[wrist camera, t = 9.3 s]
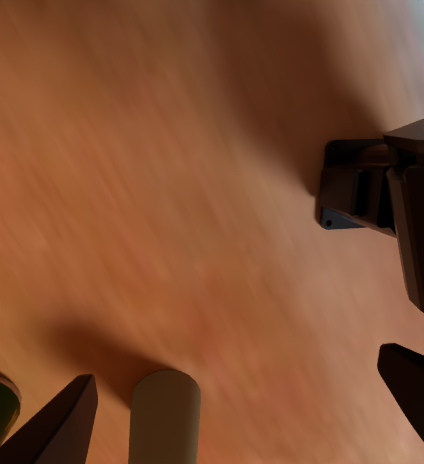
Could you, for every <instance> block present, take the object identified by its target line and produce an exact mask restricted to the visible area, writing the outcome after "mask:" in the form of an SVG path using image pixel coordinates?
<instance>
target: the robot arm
mask: <svg viewBox="0 0 424 464" xmlns="http://www.w3.org/2000/svg"><path fill="white" fill-rule="evenodd" d="M383 137H384V139H356V140H332V141H329V142H328V143H327V145H326V148H325V161H324V169H323V170H322V173H321V186H320V200H319V204H320V205H321V214H320V225H321V227H322V228H324V229H327V230H331V229H348V228H366V227H368V228H371V229H373V230H376V231H379V232H381V233H384V234H387V235H389V236H392V237H395V238H397V242H398V247H399V253H400V259H401V265H402V271H403V276H404V282H405V288H406V291H407V294H408V297H409V300H410V301H411V302H412V303H413V304H414V305H415V306H416V307H417V308H418V309H419V310H420V311H422V312H423V313H424V119H422V120H419V121H416V122H414V123H411V124H409V125H406V126H403V127H401V128H398V129H395V130H393V131H390V132H387V133H385V134H383ZM333 144H334V145H335V147H336V148H335V150H334V151H333V150H332V145H333ZM327 220H329V224H328V225H326V224H325V223H326V221H327ZM377 368H378V371H379V373H380V375H381V377H382V379H383V380H384V382H385V383H386V385H387V387H388V388H389V390H390V392H391V393H392V395H393V397H394V398H395V400H396V401H397V403H398V405H399V406H400V408H401V410H402V411H403V413H404V414H405V416H406V418H407V419H408V421H409V422H410V424H411V425H412V426H413V428H414V429H415V431H416V432H417V434H418V435H419V436H420V438H421V439H422V440H423V442H424V355H421V354H419V353H417V352H414V351H412V350H410V349H408V348H405V347H403V346H401V345H398V344H396V343H387V344H382V345H381V346H380V350H379V356H378V363H377ZM97 405H98V394H97V388H96V382H95V377H94V375H93V374H84V375H79V376H77V377H76V378H75V379H74V380H73V381H71V382H70V383H69V384H68V385H67V386H66V387H65V388H64V389H63V390H62V391H61V392H59V393H58V394H57V395H56V396H55V397H54V398H53V399H52V400H51V401H50V402H48V403H47V404H46V405H45V406H44V407H43V408H42V409H41V410H40V411H39V412H38V413H36V414H35V415H34V416H33V417H32V418H31V419H30V420H29V421H28V422H27V423H26V424H24V425H23V426H22V427H21V428H20V429H19V430H18V431H17V432H16V433H15V434H13V435H12V436H11V437H10V438H9V439H8V440H7V441H6V442H5V443H4V444H3V445H1V446H0V464H85V462H86V458H87V453H88V448H89V443H90V439H91V434H92V429H93V424H94V419H95V414H96V410H97Z"/></svg>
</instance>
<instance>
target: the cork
mask: <svg viewBox="0 0 424 464" xmlns="http://www.w3.org/2000/svg"><path fill="white" fill-rule="evenodd" d="M200 405H201V394H200V389H199V387H198V385H197V383H196V381H195V380H193V379H192V378H191V377H190V376H189V375H187V374H184V373H182V372H180V371H173V370H164V371H157V372H154V373H152V374H150V375H147V376H146V377H145V378H143V379H142V380H141V381H140V382H138V384H137V385H136V387H135V388H134V390H133V393H132V398H131V414H130V436H129V459H128V464H196V463H197V448H198V434H199V419H200Z"/></svg>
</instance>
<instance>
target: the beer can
mask: <svg viewBox="0 0 424 464" xmlns="http://www.w3.org/2000/svg"><path fill="white" fill-rule="evenodd" d="M20 408H21V395H20V392H19V390H18V388H17V387H16V386H15V385H14V384H13V383H12V382H10V381H9V380H7V379H6V378H3V377H0V446H1V444H2V443H3V441H4V440H5V438H6V436H7V435H8V433H9V432H10V430H11V428H12V427H13V425H14V423H15V422H16V420H17V418H18V416H19V414H20Z"/></svg>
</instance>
